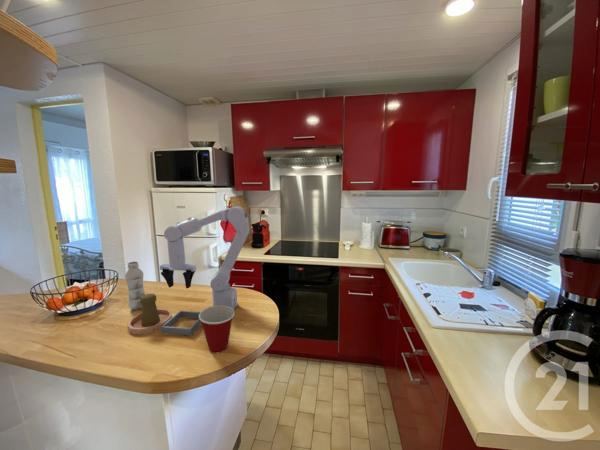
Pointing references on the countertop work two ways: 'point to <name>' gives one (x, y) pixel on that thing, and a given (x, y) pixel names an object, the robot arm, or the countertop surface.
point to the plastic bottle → (134, 285)
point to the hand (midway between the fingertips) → (179, 286)
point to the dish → (136, 327)
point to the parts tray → (179, 330)
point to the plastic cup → (217, 326)
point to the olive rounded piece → (149, 310)
